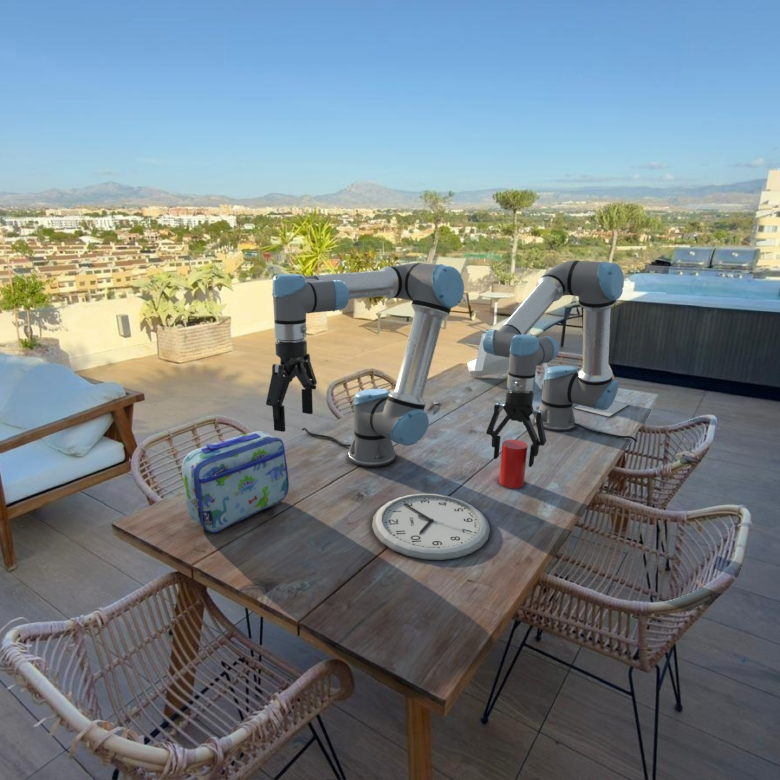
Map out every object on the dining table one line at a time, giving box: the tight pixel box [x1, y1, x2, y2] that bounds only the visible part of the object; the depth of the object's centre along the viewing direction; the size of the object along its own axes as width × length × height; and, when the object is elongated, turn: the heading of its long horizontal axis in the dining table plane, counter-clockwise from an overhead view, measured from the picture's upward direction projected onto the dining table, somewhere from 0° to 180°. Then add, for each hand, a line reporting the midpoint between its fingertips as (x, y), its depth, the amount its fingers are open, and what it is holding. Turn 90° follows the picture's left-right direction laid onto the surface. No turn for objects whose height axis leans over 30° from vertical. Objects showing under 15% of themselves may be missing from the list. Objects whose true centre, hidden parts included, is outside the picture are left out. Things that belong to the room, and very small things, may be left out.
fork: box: [427, 396, 442, 412], centre depth 222 cm, size 3×16×2 cm, turn 160°
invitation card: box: [573, 400, 629, 418], centre depth 226 cm, size 21×1×15 cm
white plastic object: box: [466, 306, 549, 390], centre depth 259 cm, size 37×45×31 cm
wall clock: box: [371, 493, 491, 561], centre depth 134 cm, size 30×2×30 cm
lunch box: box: [181, 430, 290, 533], centre depth 135 cm, size 26×11×21 cm, turn 134°
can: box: [498, 439, 529, 489], centre depth 155 cm, size 7×7×13 cm
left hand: (294, 421), depth 133 cm, fingers open, 13 cm apart
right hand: (513, 461), depth 155 cm, fingers open, 10 cm apart
